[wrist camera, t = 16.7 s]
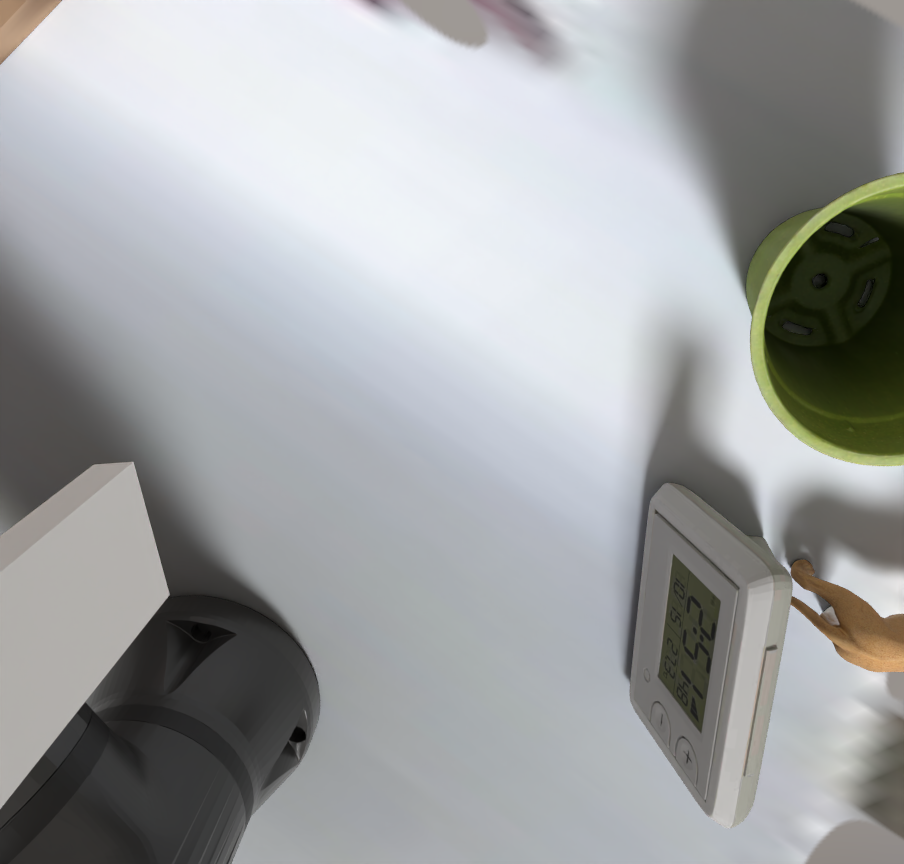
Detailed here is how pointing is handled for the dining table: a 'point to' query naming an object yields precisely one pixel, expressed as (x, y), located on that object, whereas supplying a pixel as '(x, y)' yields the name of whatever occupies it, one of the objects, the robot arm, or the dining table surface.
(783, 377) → the plant pot
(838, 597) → the lion figurine
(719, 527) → the digital clock
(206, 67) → the dining table surface
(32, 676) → the robot arm
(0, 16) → the walnut base plate
